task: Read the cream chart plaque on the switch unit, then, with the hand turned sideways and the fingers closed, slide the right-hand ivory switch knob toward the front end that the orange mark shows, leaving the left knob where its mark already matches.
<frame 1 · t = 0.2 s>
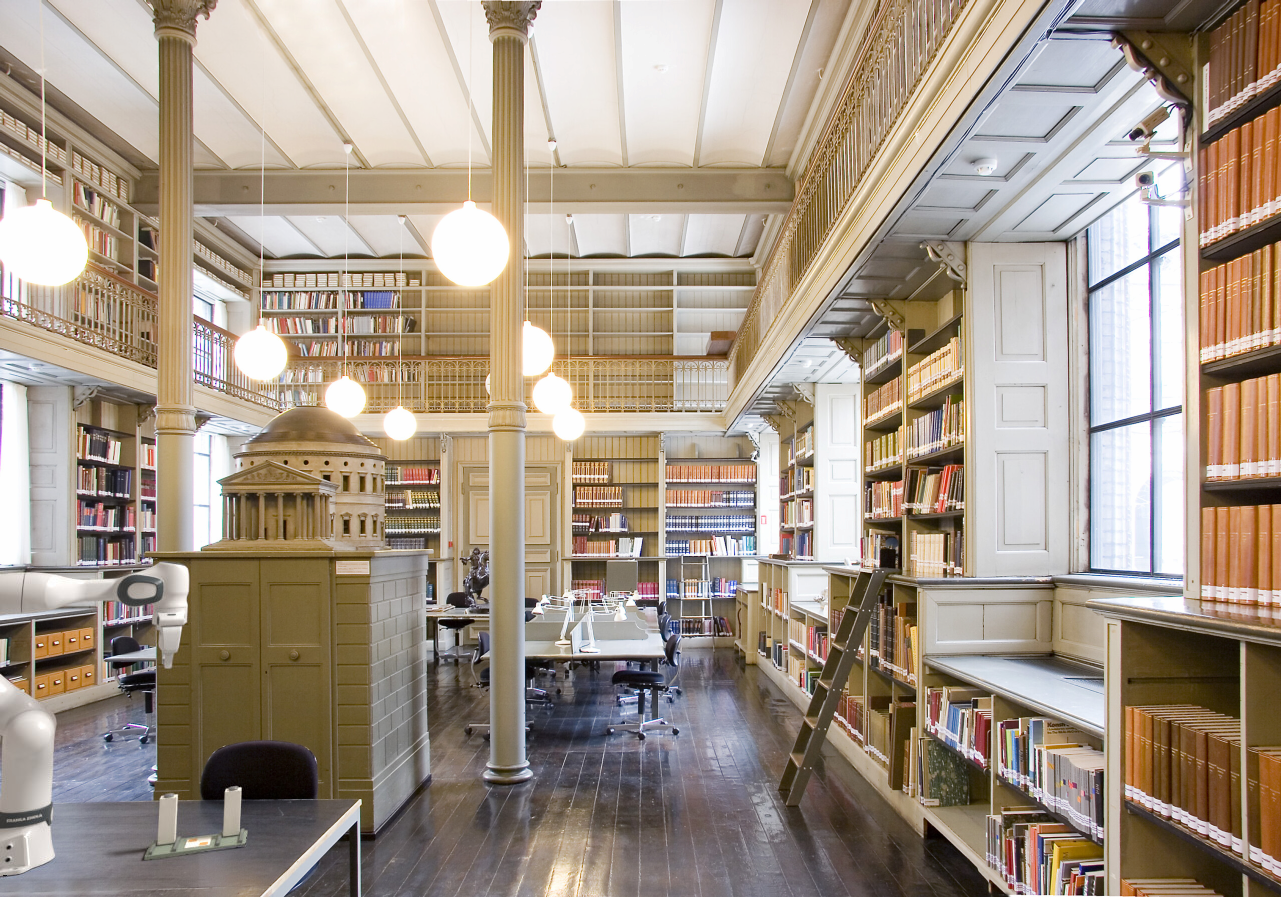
hand: (166, 666, 240), 48 cm above the table, tool pointing down, fingers open, 8 cm apart
left switch: (167, 818, 230), point 8 cm above the table, slide at 0.0 cm
switch unit: (198, 846, 229), on the table
right switch: (232, 810, 236), point 8 cm above the table, slide at 0.0 cm
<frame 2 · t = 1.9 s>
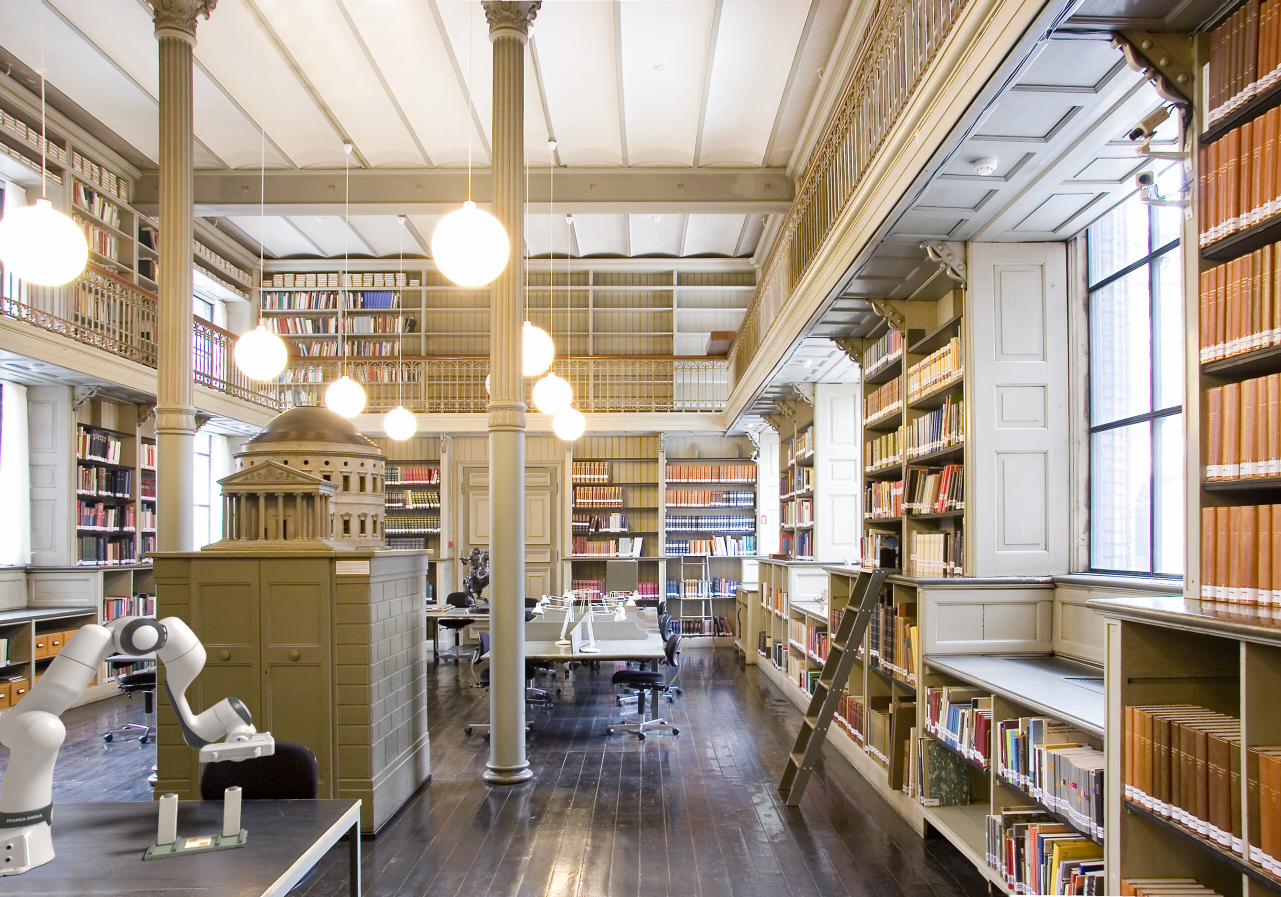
hand: (235, 757, 243), 21 cm above the table, tool horizontal, fingers open, 8 cm apart
nothing on the table moved.
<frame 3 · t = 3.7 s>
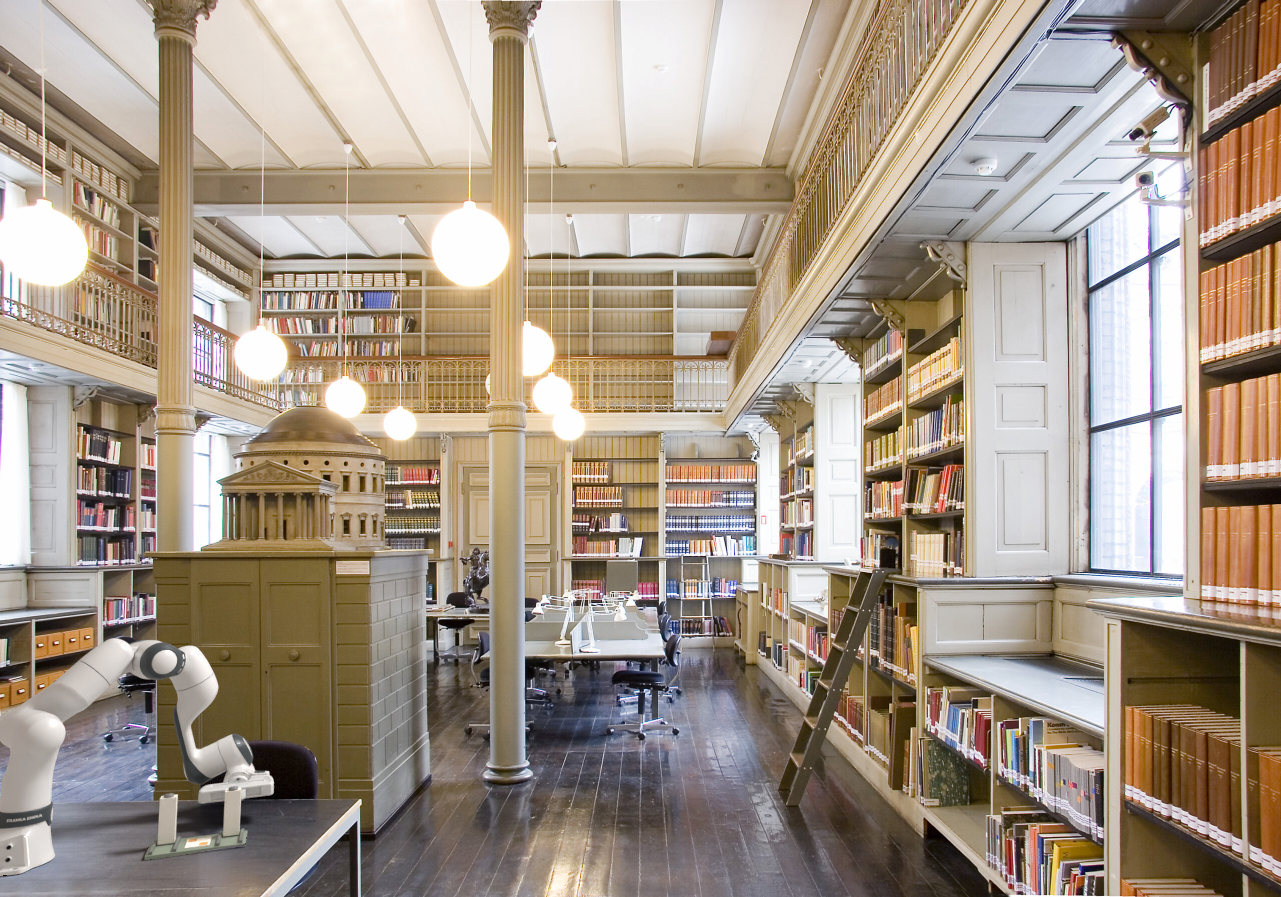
hand: (235, 798, 242), 9 cm above the table, tool horizontal, fingers closed
nothing on the table moved.
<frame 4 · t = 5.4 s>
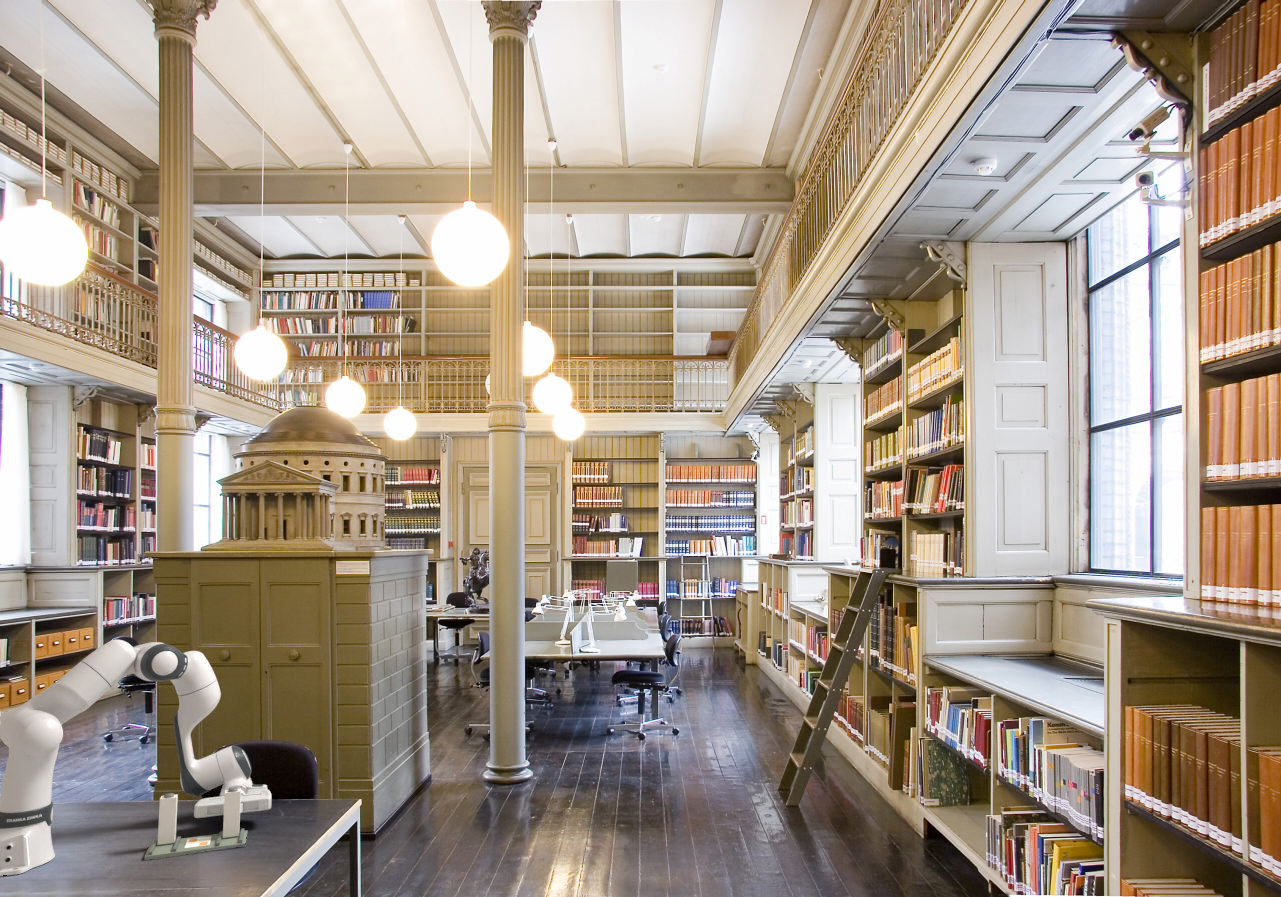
hand: (232, 813, 236), 7 cm above the table, tool horizontal, fingers closed, pressing on right switch
right switch: (232, 811, 235), point 8 cm above the table, slide at 1.2 cm, touching gripper
everything else where it was.
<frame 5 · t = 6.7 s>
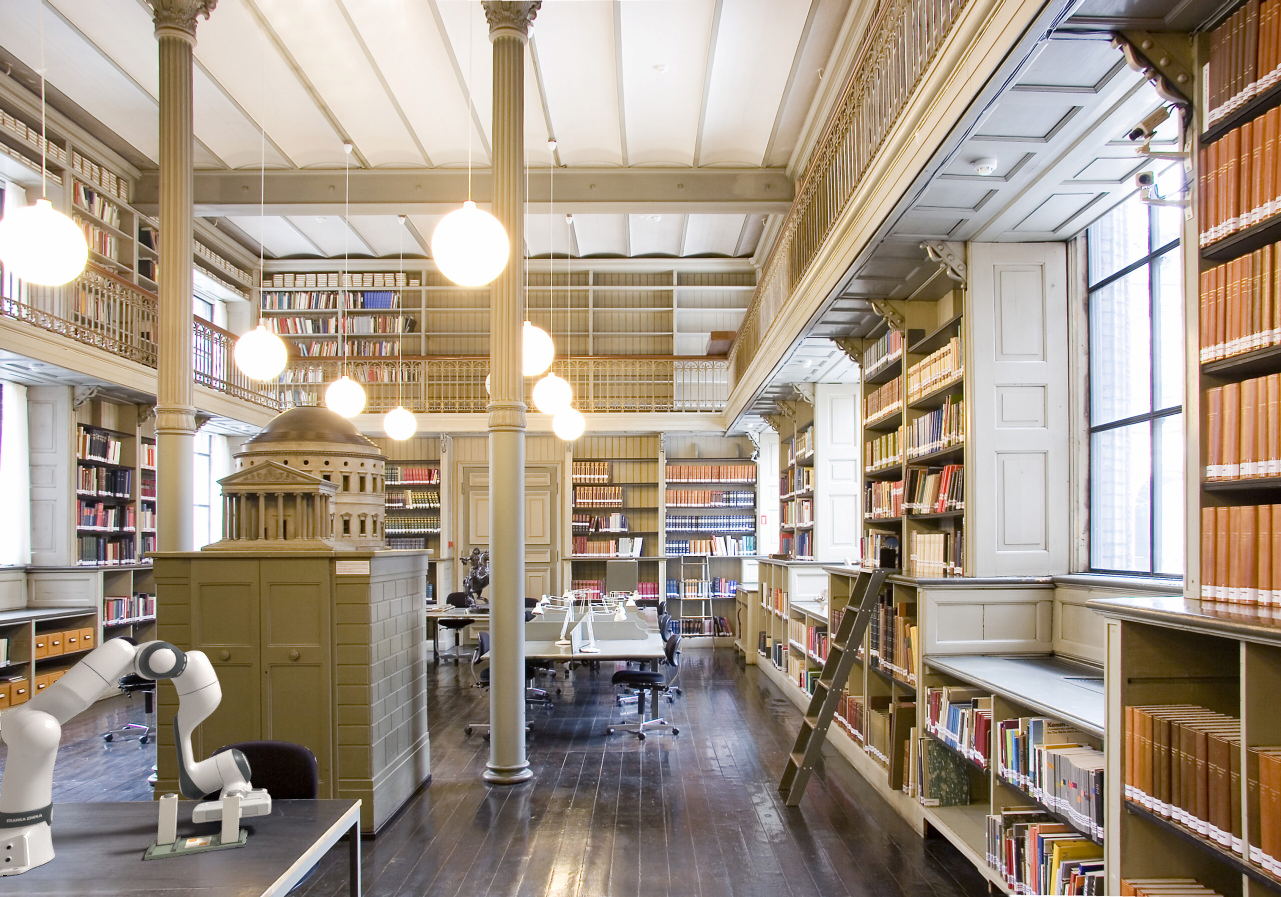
hand: (230, 818, 232), 7 cm above the table, tool horizontal, fingers closed, pressing on right switch
right switch: (230, 817, 230), point 8 cm above the table, slide at 5.9 cm, touching gripper
everything else where it was.
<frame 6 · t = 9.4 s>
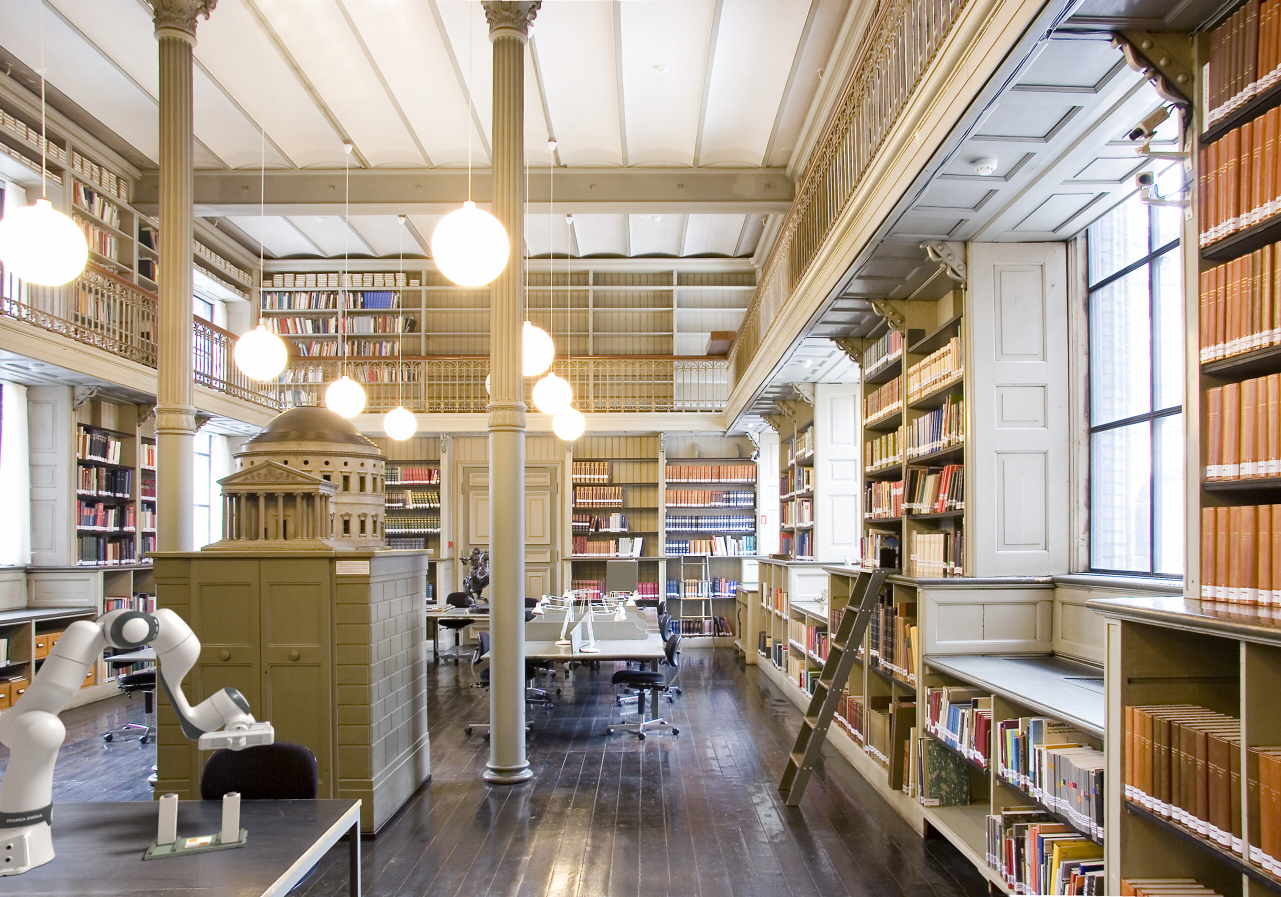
hand: (235, 745, 241), 25 cm above the table, tool horizontal, fingers closed
right switch: (230, 817, 230), point 8 cm above the table, slide at 5.9 cm
everything else where it was.
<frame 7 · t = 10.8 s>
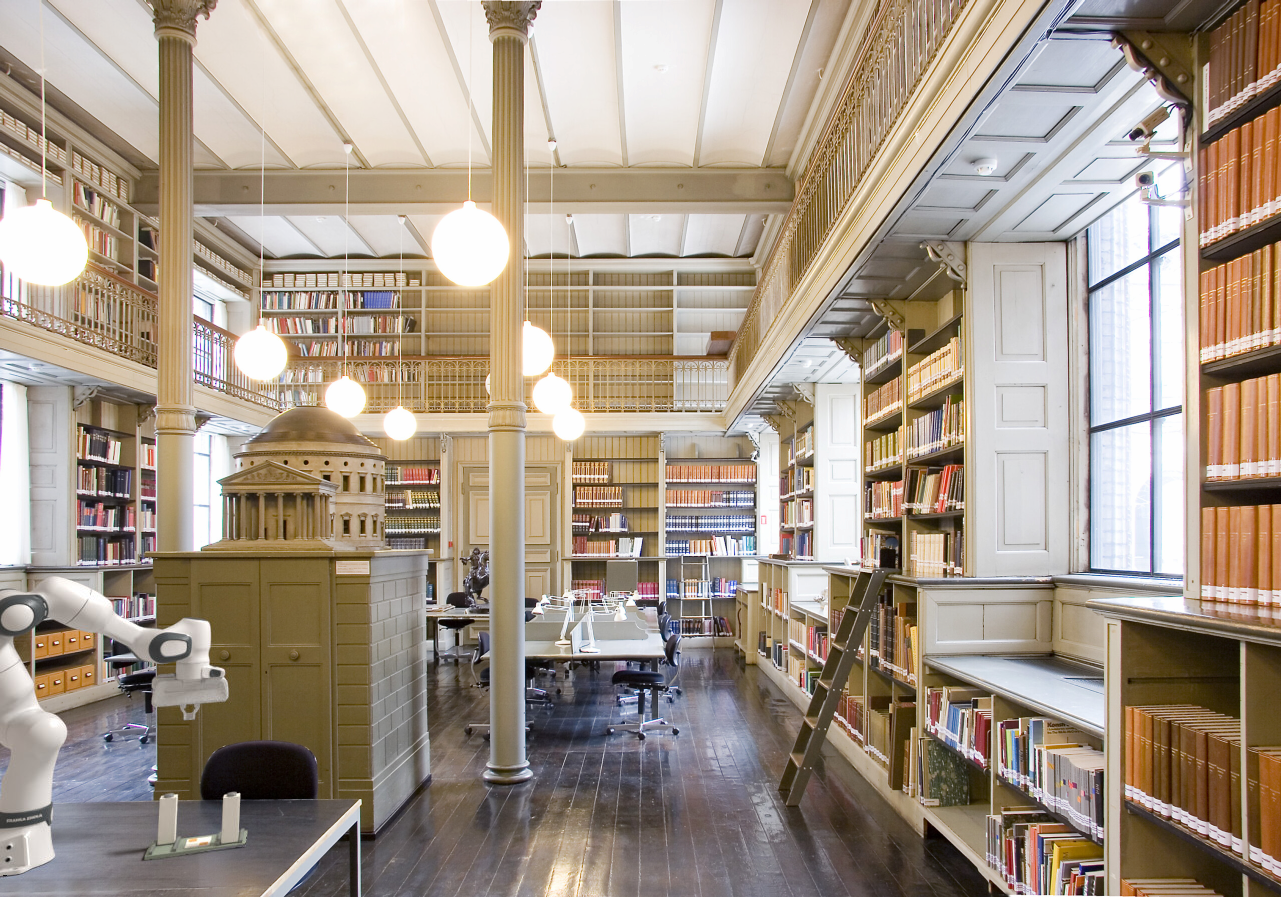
hand: (189, 719, 249), 30 cm above the table, tool pointing down, fingers closed
nothing on the table moved.
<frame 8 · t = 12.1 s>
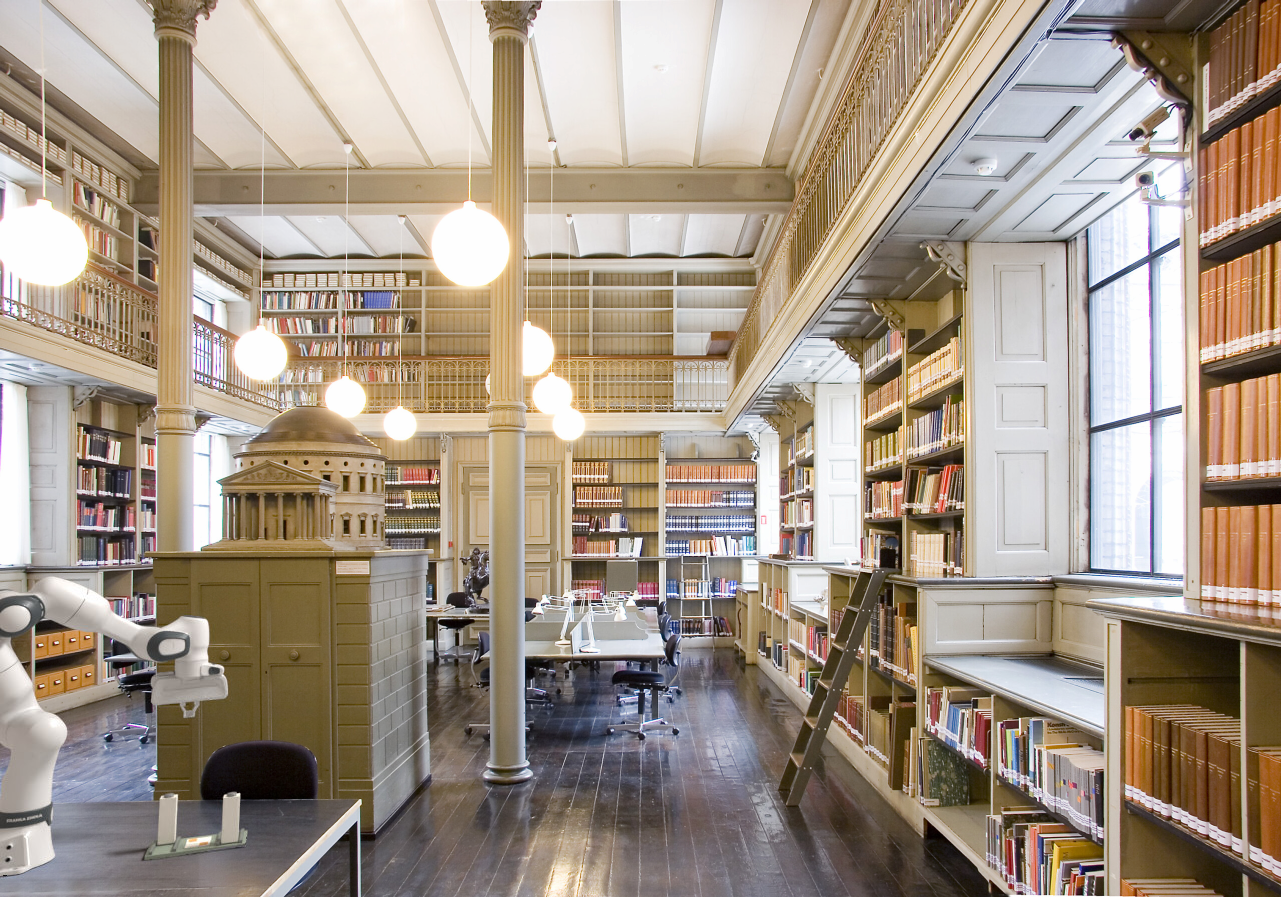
hand: (189, 717, 249), 31 cm above the table, tool pointing down, fingers closed
nothing on the table moved.
at the end: right switch slide at 5.9 cm; left switch slide at 0.0 cm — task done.
